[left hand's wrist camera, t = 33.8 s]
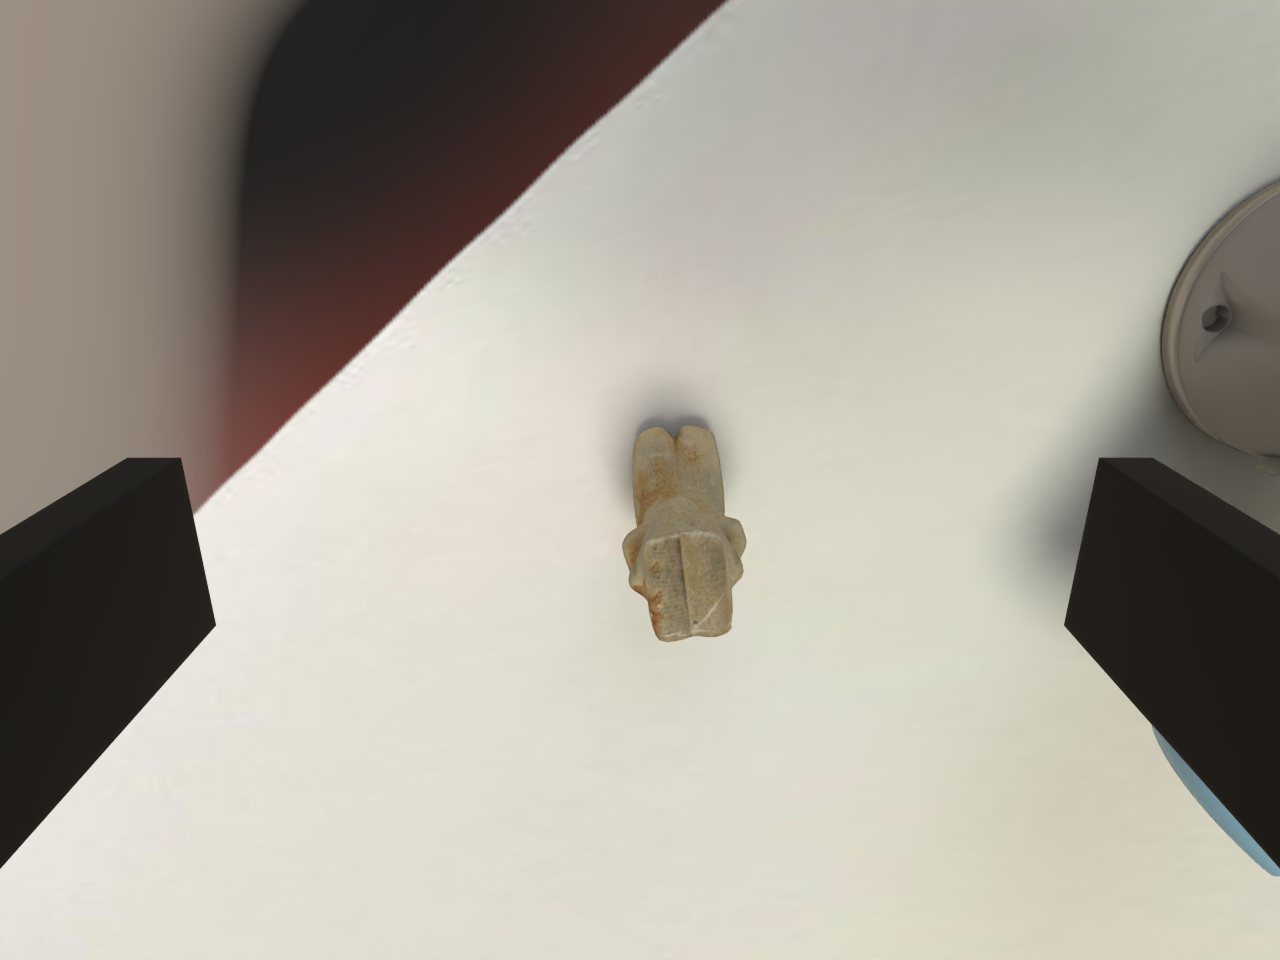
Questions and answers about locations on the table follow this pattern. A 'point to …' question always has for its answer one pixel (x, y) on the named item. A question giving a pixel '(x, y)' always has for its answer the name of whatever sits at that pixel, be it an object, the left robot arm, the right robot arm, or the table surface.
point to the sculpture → (683, 535)
